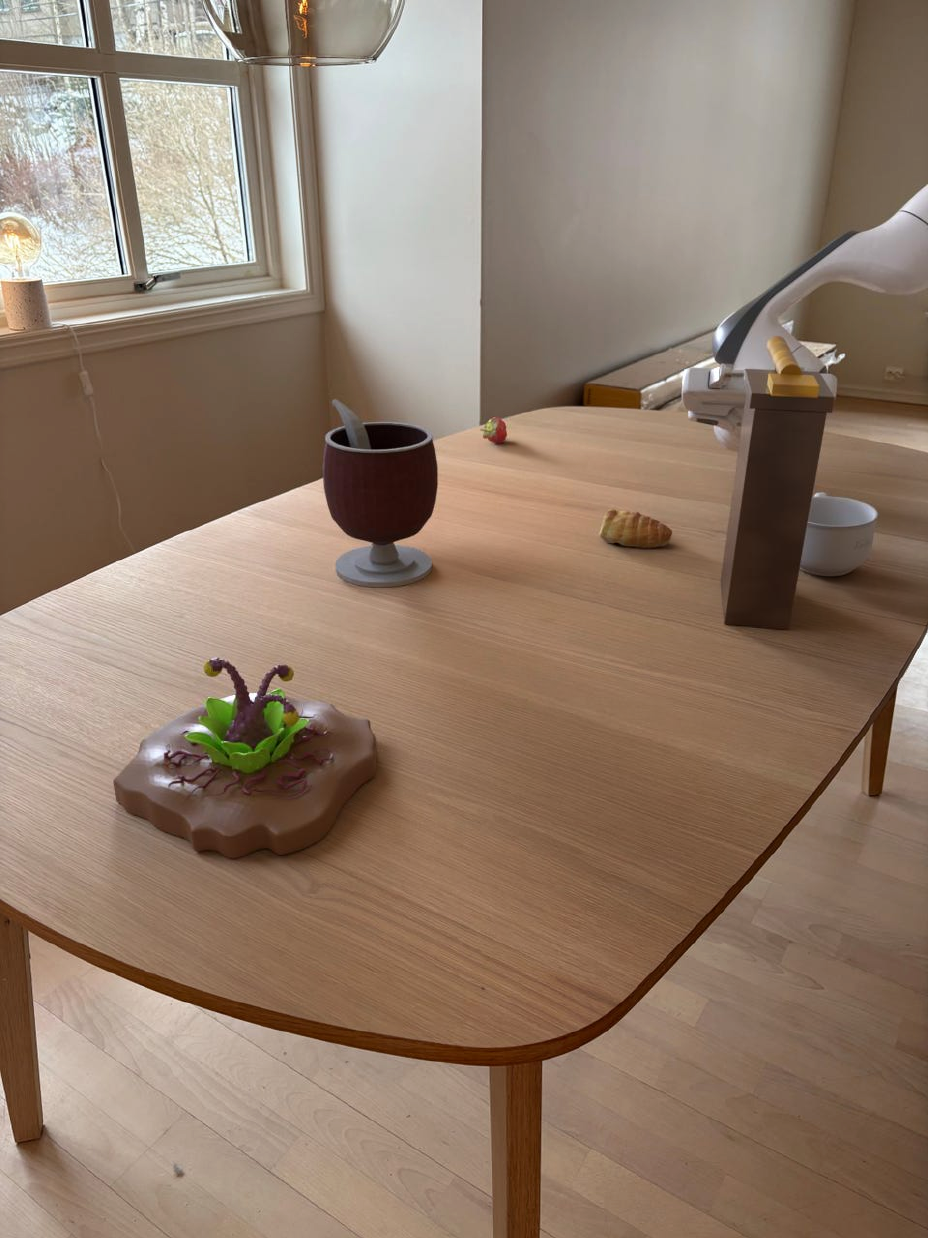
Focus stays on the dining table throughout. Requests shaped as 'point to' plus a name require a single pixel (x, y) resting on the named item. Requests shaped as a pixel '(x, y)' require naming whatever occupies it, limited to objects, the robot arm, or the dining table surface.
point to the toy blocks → (788, 373)
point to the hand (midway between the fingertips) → (764, 371)
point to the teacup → (837, 535)
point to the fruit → (495, 430)
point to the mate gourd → (380, 496)
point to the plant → (249, 769)
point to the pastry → (634, 529)
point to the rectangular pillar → (771, 501)
